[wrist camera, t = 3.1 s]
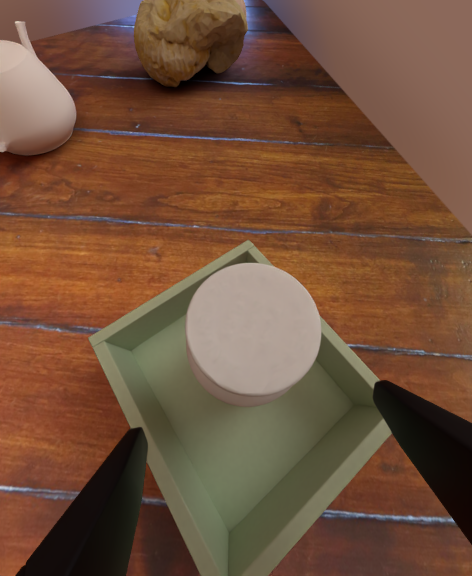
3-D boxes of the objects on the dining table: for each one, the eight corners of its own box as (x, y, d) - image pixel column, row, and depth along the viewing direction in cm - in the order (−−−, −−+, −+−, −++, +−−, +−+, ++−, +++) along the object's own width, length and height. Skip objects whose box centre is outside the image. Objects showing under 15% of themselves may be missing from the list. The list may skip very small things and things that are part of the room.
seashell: (172, 68, 44) (122, 82, 35) (163, -26, 35) (95, -38, 27) (251, 86, 42) (220, 106, 33) (263, -10, 33) (224, -18, 24)
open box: (365, 406, 18) (410, 412, 13) (226, 552, 14) (224, 627, 10) (245, 267, 23) (248, 239, 18) (120, 349, 19) (87, 337, 15)
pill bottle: (188, 360, 18) (132, 323, 8) (238, 309, 20) (246, 226, 10) (243, 418, 17) (261, 467, 6) (292, 357, 19) (367, 317, 8)
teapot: (24, 92, 35) (-50, -14, 26) (103, 94, 35) (57, -11, 26) (-42, 182, 27) (-186, 73, 18) (62, 183, 27) (-26, 77, 18)
